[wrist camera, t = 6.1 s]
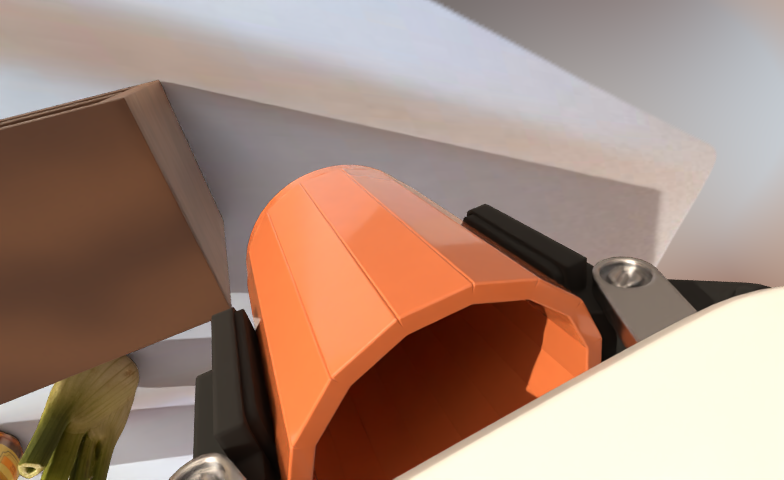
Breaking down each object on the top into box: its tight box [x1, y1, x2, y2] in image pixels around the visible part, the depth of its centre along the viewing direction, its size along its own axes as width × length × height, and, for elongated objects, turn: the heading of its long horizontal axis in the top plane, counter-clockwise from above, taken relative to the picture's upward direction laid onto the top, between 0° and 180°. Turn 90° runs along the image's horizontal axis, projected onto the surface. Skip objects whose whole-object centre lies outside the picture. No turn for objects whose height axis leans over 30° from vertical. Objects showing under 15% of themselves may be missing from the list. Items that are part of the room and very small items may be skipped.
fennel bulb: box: [18, 355, 139, 480], centre depth 29 cm, size 6×5×12 cm
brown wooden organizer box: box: [0, 80, 232, 405], centre depth 23 cm, size 11×14×14 cm
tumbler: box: [246, 165, 602, 480], centre depth 11 cm, size 6×6×8 cm
